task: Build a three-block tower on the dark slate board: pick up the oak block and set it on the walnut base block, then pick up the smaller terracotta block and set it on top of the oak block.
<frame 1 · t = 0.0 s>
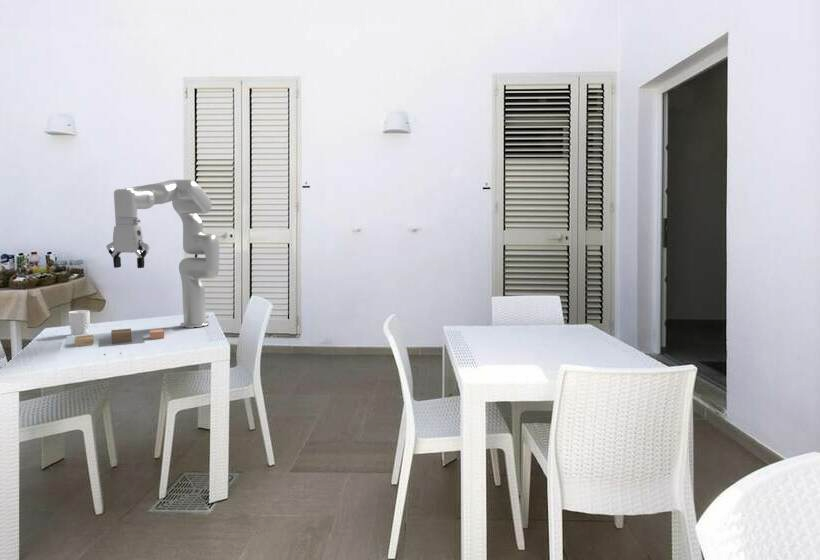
hand: (129, 267, 214), 31 cm above the table, tool pointing down, fingers open, 9 cm apart
terracotta block: (157, 340, 232), on the table
white cup: (80, 334, 242), on the table
oak block: (84, 347, 220), on the table
slate board: (121, 343, 226), on the table
walnut base block: (121, 340, 226), point 1 cm above the table, touching slate board
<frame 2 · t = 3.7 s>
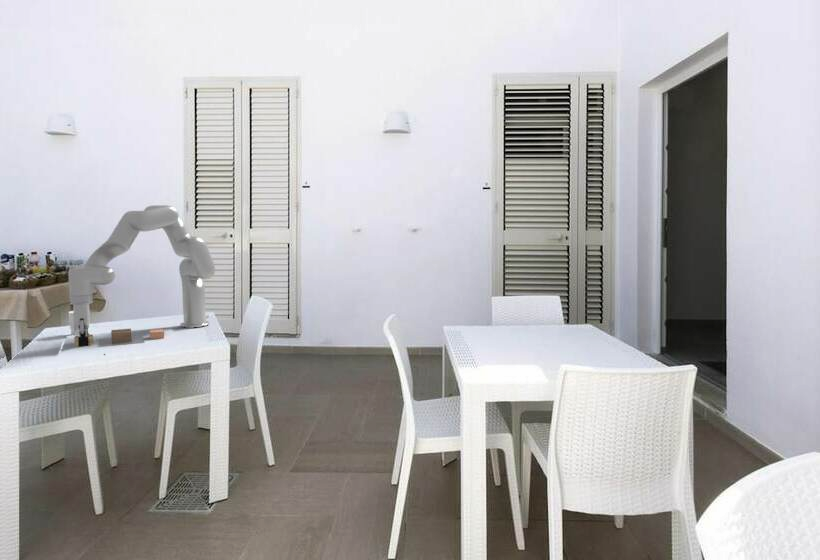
hand: (84, 344, 220), 1 cm above the table, tool pointing down, fingers closed on oak block, 6 cm apart
oak block: (84, 346, 220), on the table, touching gripper
everything else where it was.
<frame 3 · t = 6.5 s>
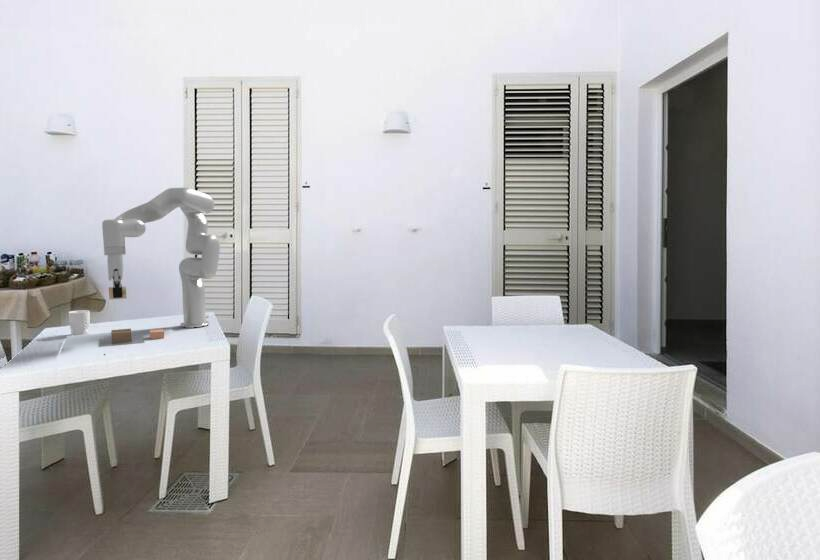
hand: (117, 295, 224), 19 cm above the table, tool pointing down, fingers closed on oak block, 6 cm apart
oak block: (118, 297, 224), point 18 cm above the table, touching gripper
everything else where it was.
when the fingers open (7 cm above the table, at t = 9.4 s): oak block drops 1 cm, resting on walnut base block.
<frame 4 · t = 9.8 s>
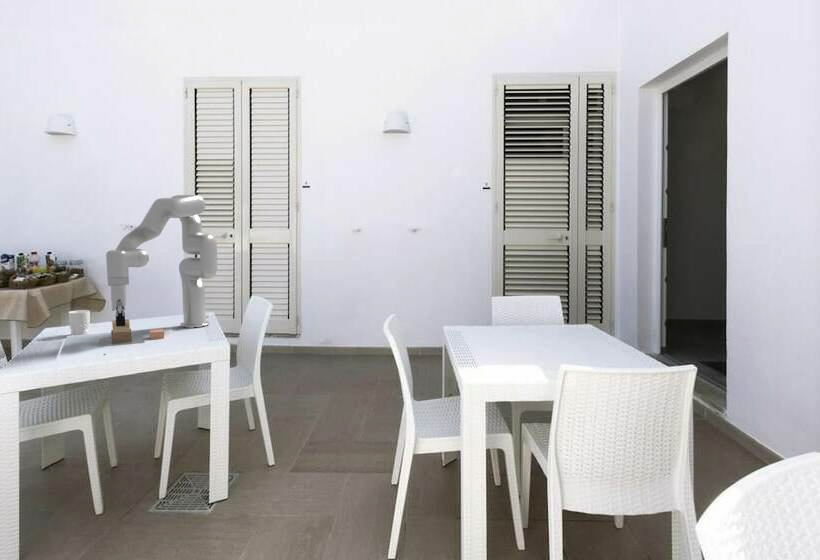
hand: (120, 324, 225), 8 cm above the table, tool pointing down, fingers open, 9 cm apart
oak block: (121, 330, 226), point 5 cm above the table, touching walnut base block
walnut base block: (121, 340, 226), point 1 cm above the table, touching oak block, slate board
everything else where it was.
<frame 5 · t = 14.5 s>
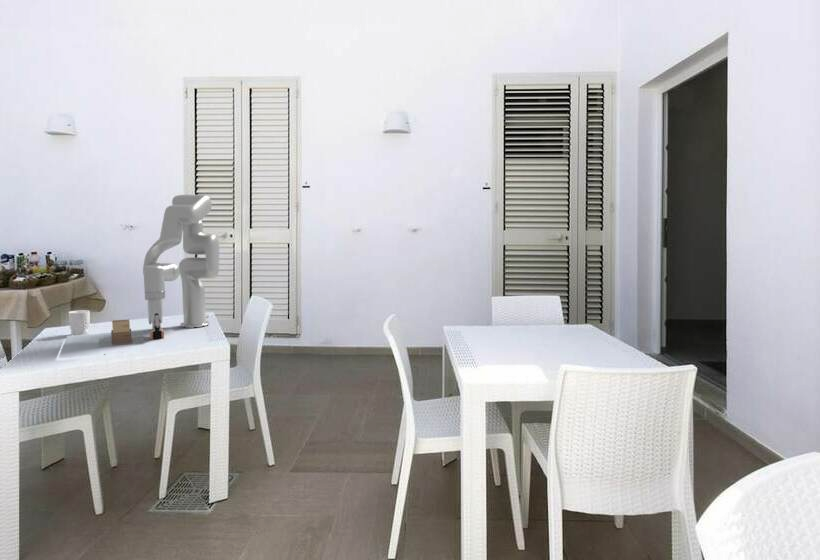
hand: (157, 338, 232), 0 cm above the table, tool pointing down, fingers closed on terracotta block, 4 cm apart
terracotta block: (157, 340, 232), on the table, touching gripper
everything else where it was.
when the fingers open (11 cm above the table, at t = 19.2 s): terracotta block drops 1 cm, resting on oak block.
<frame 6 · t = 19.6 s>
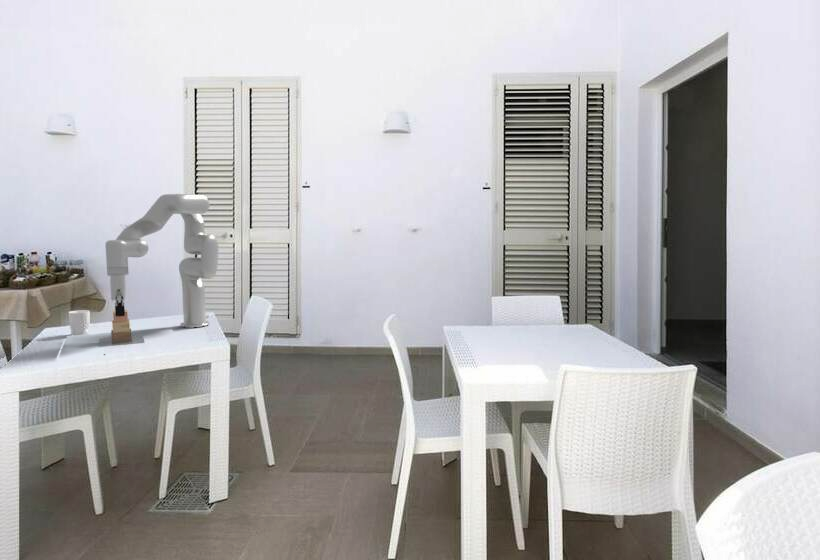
hand: (120, 314, 225), 12 cm above the table, tool pointing down, fingers open, 9 cm apart
terracotta block: (120, 321, 225), point 9 cm above the table, touching oak block
oak block: (121, 330, 226), point 5 cm above the table, touching terracotta block, walnut base block
everything else where it was.
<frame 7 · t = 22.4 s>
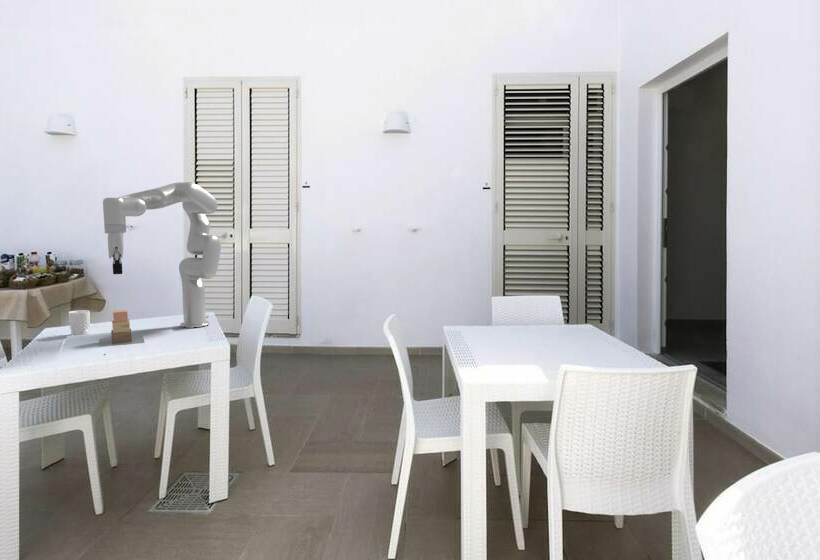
hand: (117, 272, 223), 28 cm above the table, tool pointing down, fingers open, 9 cm apart
nothing on the table moved.
at the end: oak block 0.1 cm off-centre on the walnut base block, point 4.0 cm above the walnut base block's base; terracotta block 0.0 cm off-centre on the walnut base block, point 8.0 cm above the walnut base block's base; terracotta block tilted 0° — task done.
